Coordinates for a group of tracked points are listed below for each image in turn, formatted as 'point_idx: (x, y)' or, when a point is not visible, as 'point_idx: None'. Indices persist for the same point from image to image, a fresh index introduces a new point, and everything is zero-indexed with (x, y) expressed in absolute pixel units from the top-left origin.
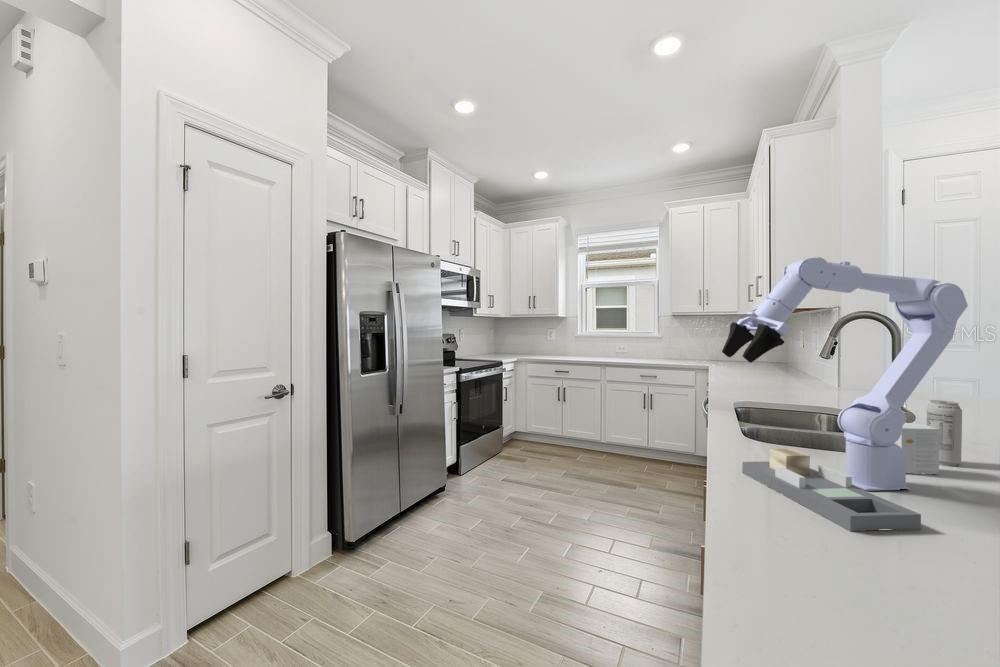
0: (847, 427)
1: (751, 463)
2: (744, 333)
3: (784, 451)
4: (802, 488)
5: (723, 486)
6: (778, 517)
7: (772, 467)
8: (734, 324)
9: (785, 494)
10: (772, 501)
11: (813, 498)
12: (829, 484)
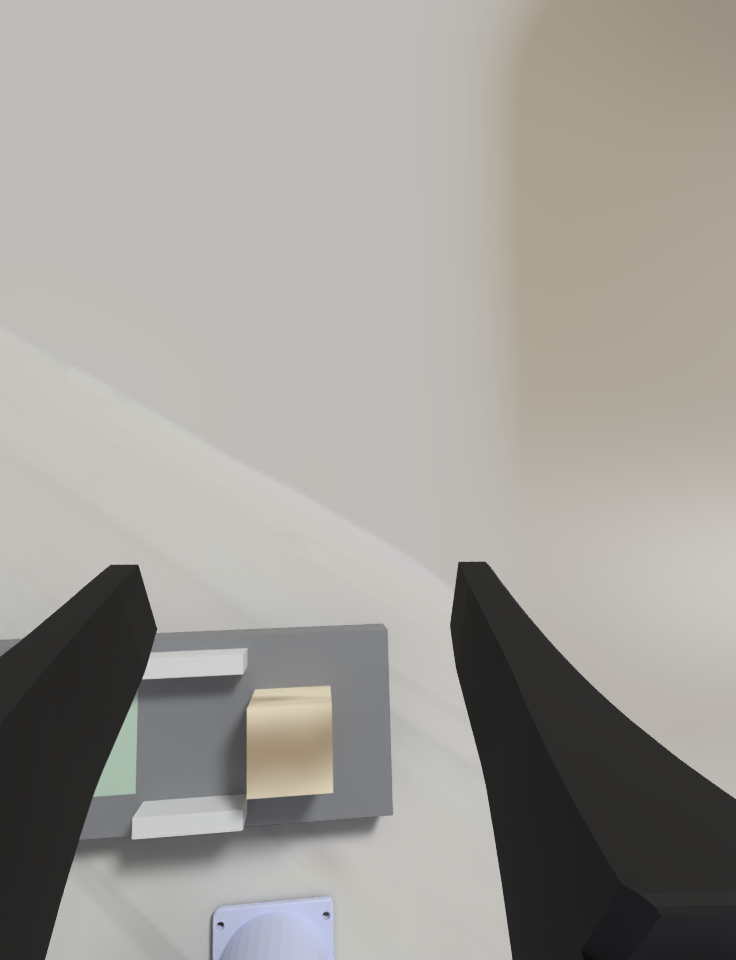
0: None
1: (369, 649)
2: (545, 936)
3: (299, 739)
4: None
5: (274, 503)
6: (67, 522)
7: (317, 687)
8: (673, 865)
9: (193, 632)
10: (163, 572)
11: None
12: (169, 768)
